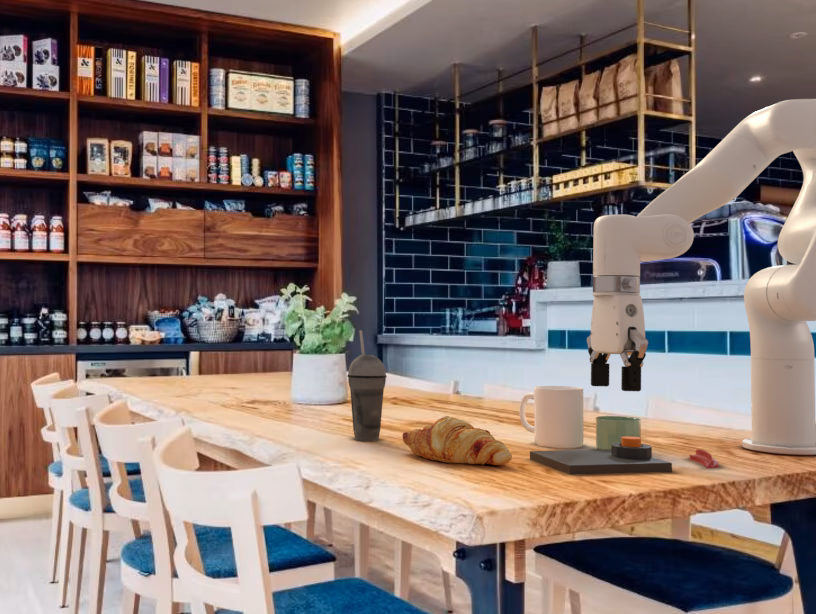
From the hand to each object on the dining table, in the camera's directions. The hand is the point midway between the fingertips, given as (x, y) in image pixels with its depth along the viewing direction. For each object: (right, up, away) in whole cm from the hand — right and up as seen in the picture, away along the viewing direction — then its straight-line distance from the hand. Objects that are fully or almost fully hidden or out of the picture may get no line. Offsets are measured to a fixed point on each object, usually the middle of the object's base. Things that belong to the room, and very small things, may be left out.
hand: (615, 388), depth 141 cm
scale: (-8, -10, -15) cm, 20 cm away
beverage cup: (-41, -11, +12) cm, 44 cm away
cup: (-9, -11, +7) cm, 16 cm away
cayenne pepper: (+9, -10, -12) cm, 18 cm away
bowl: (0, -11, 0) cm, 11 cm away
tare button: (-3, -7, -14) cm, 16 cm away
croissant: (-29, -10, -11) cm, 33 cm away
